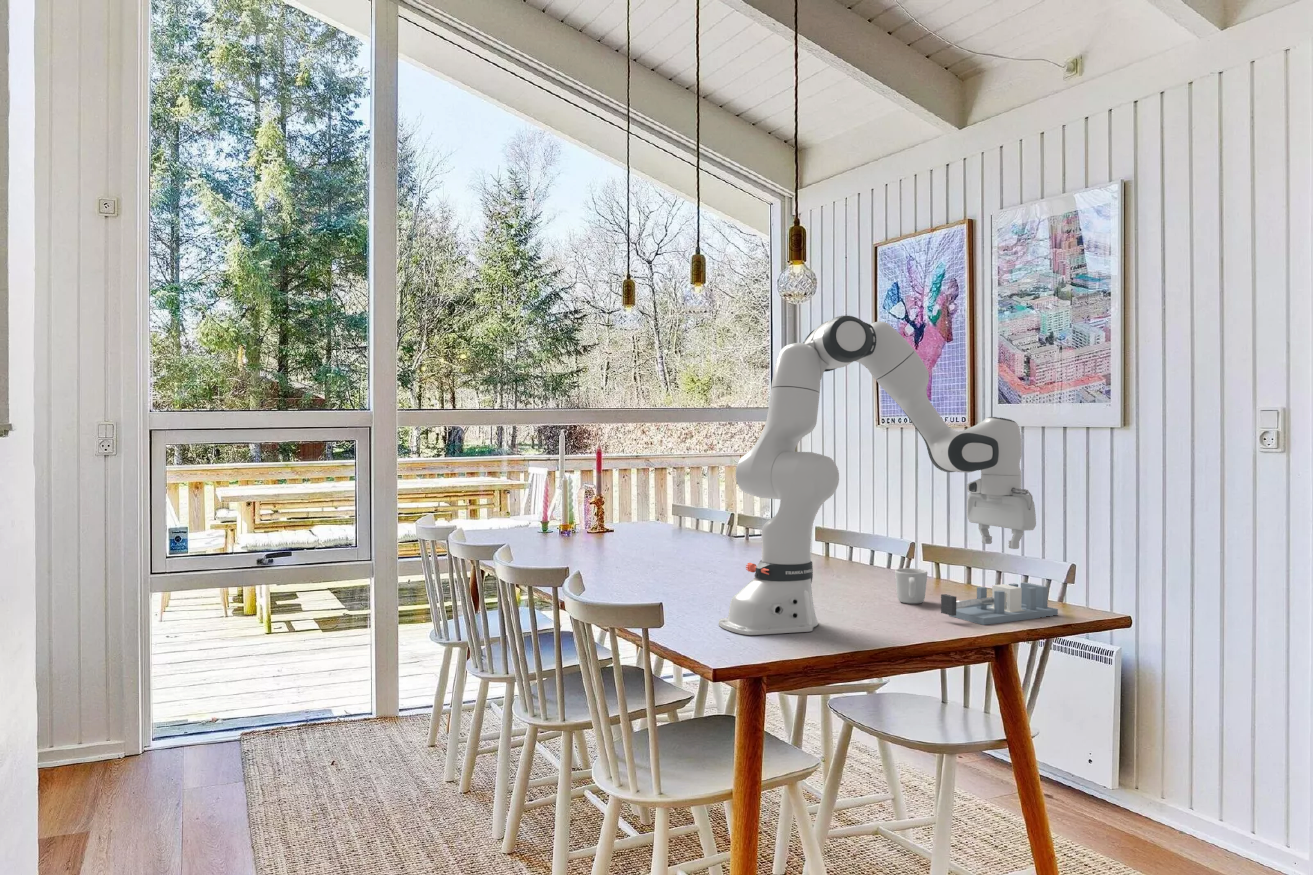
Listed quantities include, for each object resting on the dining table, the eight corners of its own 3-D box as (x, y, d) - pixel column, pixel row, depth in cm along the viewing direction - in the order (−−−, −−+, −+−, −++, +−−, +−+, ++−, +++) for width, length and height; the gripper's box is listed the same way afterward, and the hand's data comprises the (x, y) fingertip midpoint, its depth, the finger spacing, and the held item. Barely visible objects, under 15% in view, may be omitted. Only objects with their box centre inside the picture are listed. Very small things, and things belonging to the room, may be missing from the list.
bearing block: (983, 625, 212) (983, 596, 212) (948, 615, 222) (948, 588, 222) (1057, 615, 222) (1057, 587, 222) (1021, 607, 232) (1021, 580, 232)
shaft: (952, 615, 213) (952, 597, 213) (941, 612, 216) (941, 594, 216) (997, 610, 219) (997, 592, 219) (986, 607, 222) (986, 589, 222)
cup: (929, 608, 231) (929, 575, 230) (895, 607, 232) (896, 574, 232) (926, 599, 241) (926, 568, 241) (893, 598, 243) (893, 567, 243)
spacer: (1003, 605, 225) (1003, 584, 225) (1021, 610, 220) (1021, 587, 220) (992, 607, 224) (992, 585, 224) (1009, 611, 219) (1009, 589, 219)
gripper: (1043, 489, 212) (1042, 551, 212) (984, 484, 231) (983, 540, 231) (1020, 490, 210) (1019, 552, 210) (962, 484, 229) (961, 541, 229)
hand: (1000, 546), depth 221 cm, fingers open, 8 cm apart
